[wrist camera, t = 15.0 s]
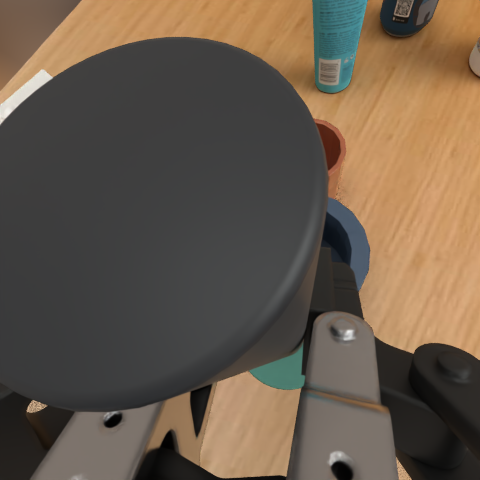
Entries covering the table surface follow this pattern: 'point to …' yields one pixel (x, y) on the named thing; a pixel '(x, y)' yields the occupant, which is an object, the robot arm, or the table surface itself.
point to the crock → (332, 154)
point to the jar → (346, 240)
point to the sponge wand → (157, 227)
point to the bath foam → (475, 58)
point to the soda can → (406, 16)
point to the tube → (336, 41)
